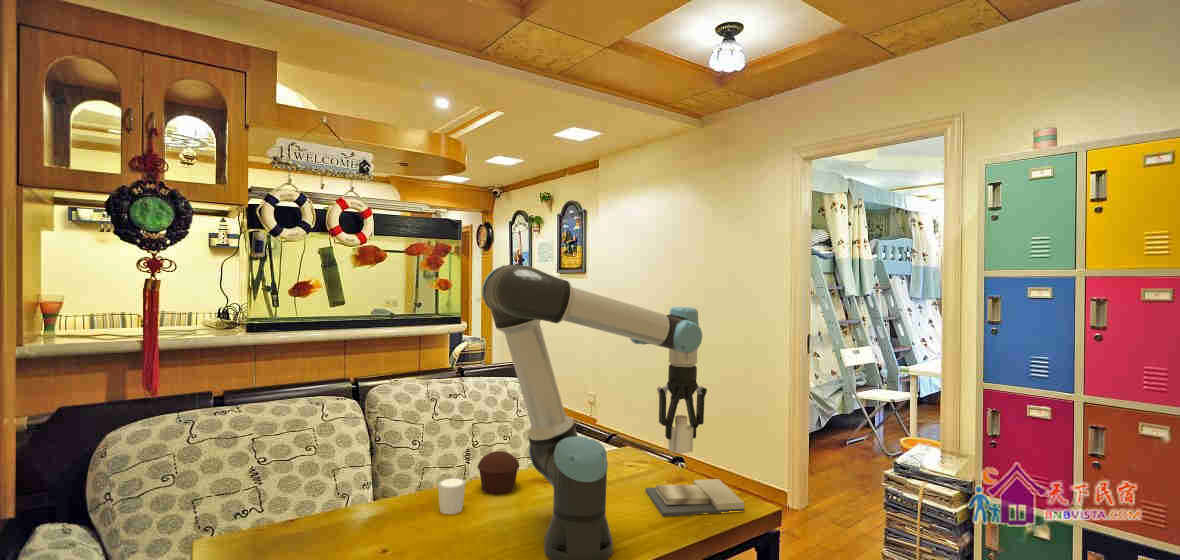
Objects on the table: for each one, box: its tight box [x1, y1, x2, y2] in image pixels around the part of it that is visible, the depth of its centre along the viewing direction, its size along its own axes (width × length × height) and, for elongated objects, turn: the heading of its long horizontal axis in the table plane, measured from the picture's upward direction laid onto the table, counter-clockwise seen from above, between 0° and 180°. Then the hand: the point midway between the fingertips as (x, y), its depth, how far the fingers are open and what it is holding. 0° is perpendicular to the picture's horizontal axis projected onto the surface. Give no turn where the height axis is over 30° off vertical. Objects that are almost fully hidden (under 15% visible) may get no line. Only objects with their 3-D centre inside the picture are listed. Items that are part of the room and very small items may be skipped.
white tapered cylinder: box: [437, 477, 466, 515], centre depth 138 cm, size 7×7×7 cm
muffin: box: [477, 451, 520, 496], centre depth 152 cm, size 12×11×10 cm
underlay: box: [644, 478, 745, 518], centre depth 147 cm, size 22×16×3 cm
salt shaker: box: [673, 414, 691, 455], centre depth 146 cm, size 4×4×10 cm
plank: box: [655, 484, 710, 505], centre depth 146 cm, size 12×9×2 cm
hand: (680, 450), depth 146 cm, fingers closed on salt shaker, 4 cm apart
